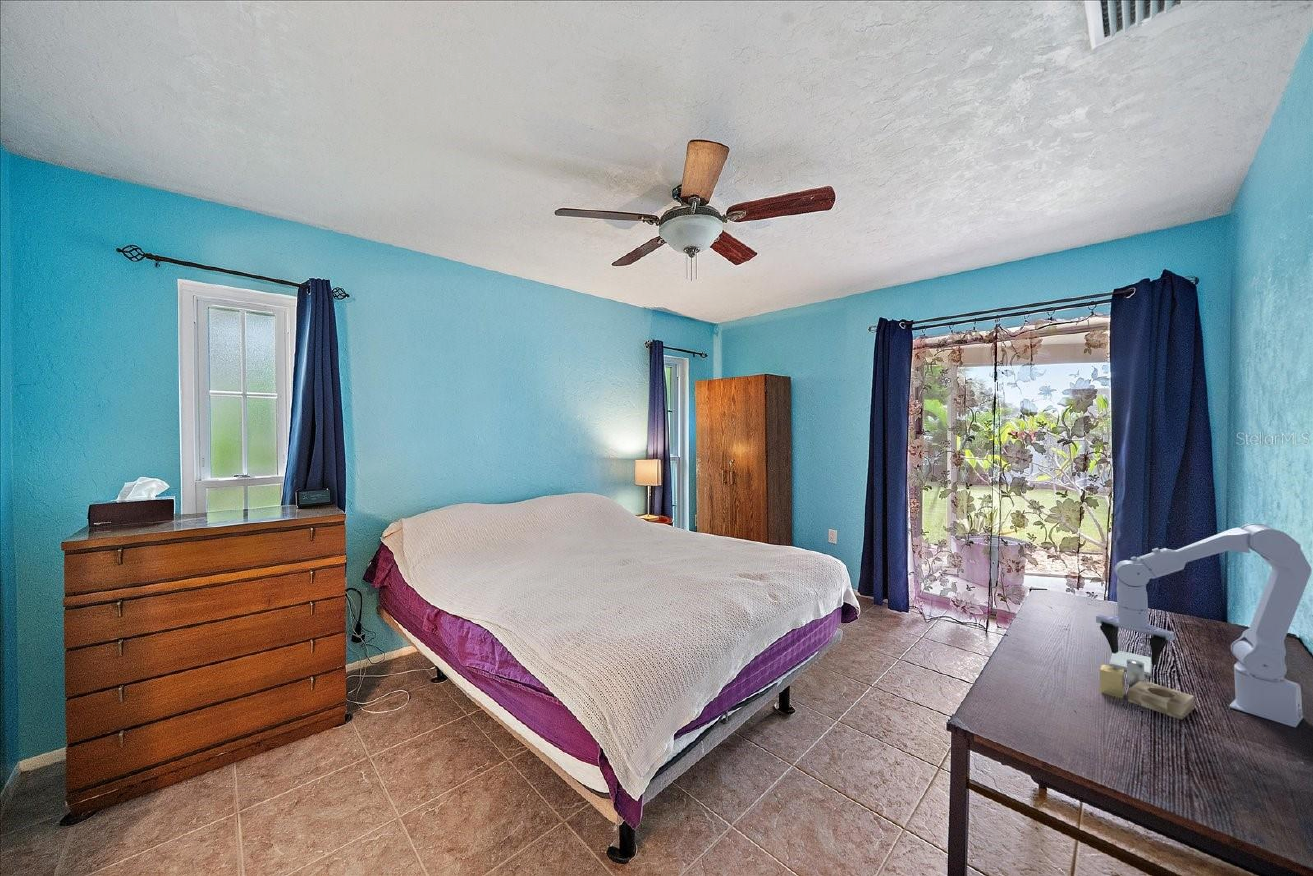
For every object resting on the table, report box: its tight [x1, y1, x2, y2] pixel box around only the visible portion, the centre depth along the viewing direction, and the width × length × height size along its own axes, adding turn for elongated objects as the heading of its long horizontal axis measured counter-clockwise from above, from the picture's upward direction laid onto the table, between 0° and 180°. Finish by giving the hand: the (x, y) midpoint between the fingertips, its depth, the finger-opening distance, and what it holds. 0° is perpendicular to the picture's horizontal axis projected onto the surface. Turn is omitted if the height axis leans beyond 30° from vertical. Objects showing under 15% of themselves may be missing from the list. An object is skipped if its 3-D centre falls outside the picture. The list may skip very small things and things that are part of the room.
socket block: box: [1127, 680, 1195, 721], centre depth 113 cm, size 9×9×3 cm
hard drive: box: [1108, 649, 1153, 677], centre depth 133 cm, size 2×8×12 cm
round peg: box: [1126, 659, 1146, 687], centre depth 122 cm, size 3×3×6 cm
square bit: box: [1099, 664, 1126, 700], centre depth 119 cm, size 4×4×6 cm
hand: (1134, 658), depth 122 cm, fingers open, 7 cm apart
